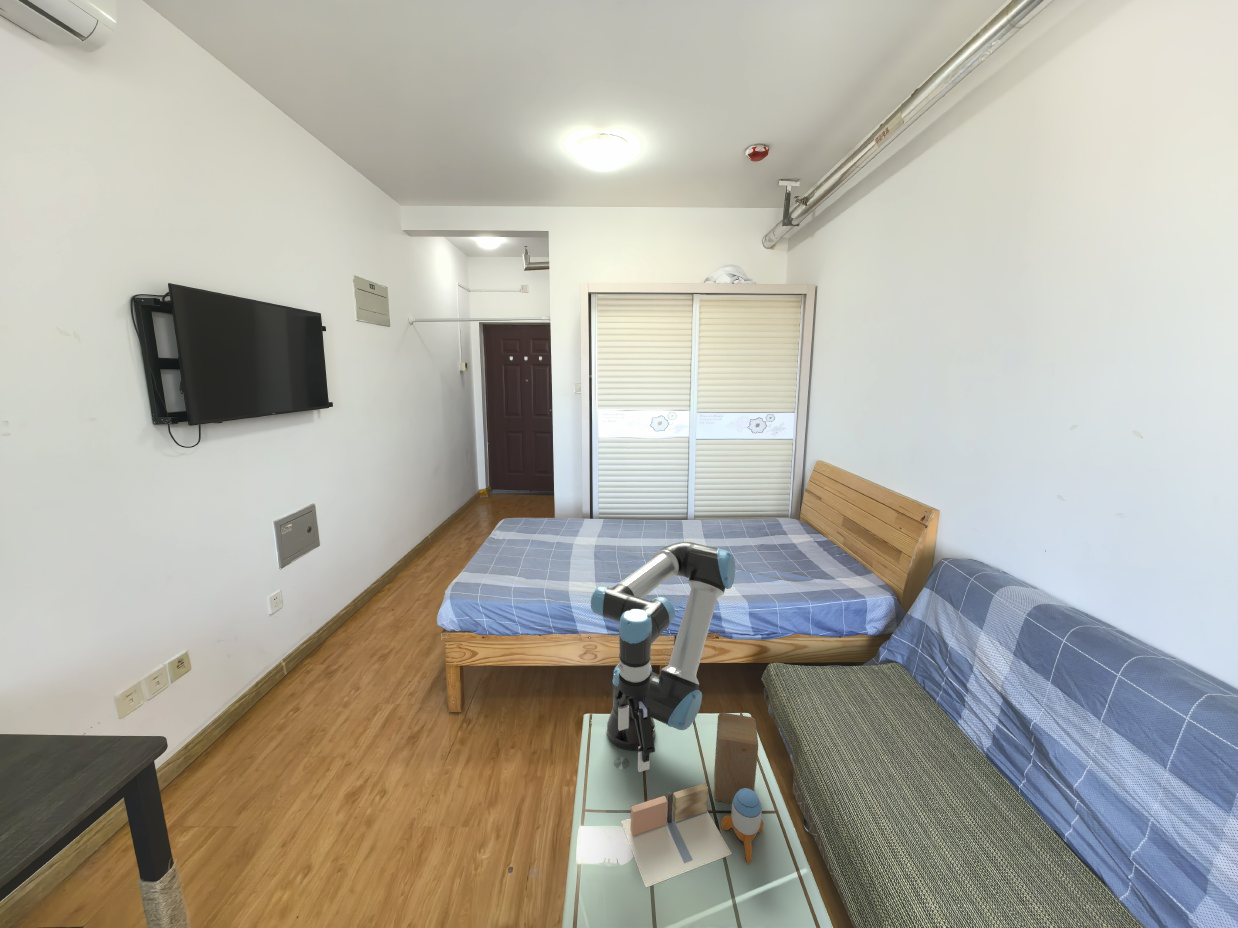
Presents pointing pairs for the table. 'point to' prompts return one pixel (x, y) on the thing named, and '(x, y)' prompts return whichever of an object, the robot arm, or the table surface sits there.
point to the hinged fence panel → (648, 815)
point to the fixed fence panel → (687, 802)
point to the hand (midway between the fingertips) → (632, 747)
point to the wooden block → (735, 756)
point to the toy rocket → (745, 818)
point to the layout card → (676, 847)
